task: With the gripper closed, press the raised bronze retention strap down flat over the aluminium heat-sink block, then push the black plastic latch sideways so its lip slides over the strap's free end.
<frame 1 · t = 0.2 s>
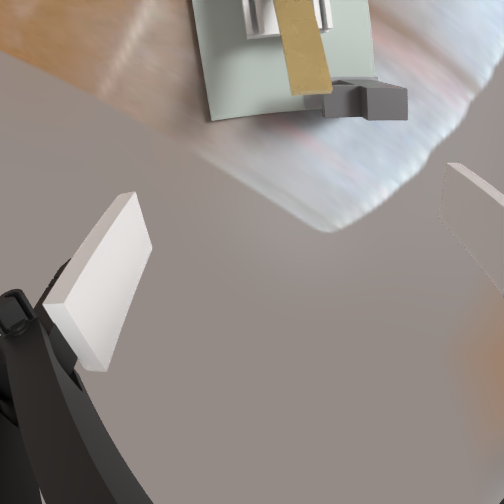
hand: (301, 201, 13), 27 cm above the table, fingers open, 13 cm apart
latch: (353, 97, 29), point 6 cm above the table, slide at 0.0 cm
board: (285, 20, 29), on the table
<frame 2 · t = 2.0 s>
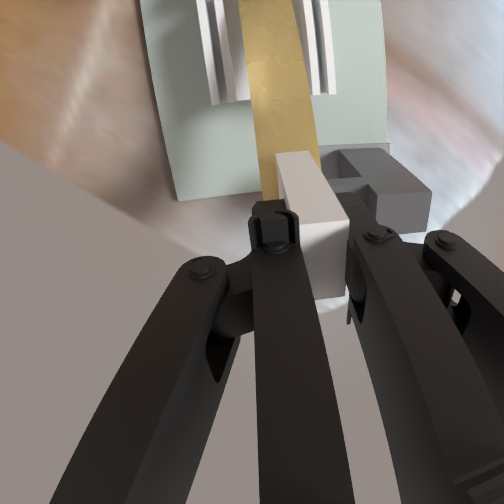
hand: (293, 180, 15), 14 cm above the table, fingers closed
latch: (357, 186, 23), point 6 cm above the table, slide at 0.0 cm
board: (271, 66, 24), on the table
strap: (274, 58, 15), point 10 cm above the table, hinge at 27.7°, touching gripper
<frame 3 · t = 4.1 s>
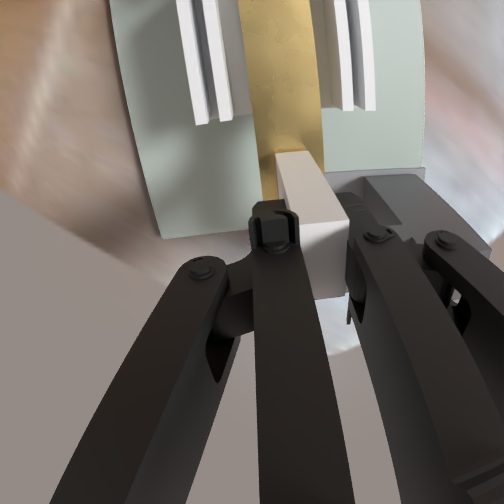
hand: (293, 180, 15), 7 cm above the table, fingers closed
latch: (392, 231, 18), point 6 cm above the table, slide at 0.0 cm
board: (279, 67, 18), on the table
strap: (282, 75, 13), point 7 cm above the table, hinge at 3.5°, touching gripper
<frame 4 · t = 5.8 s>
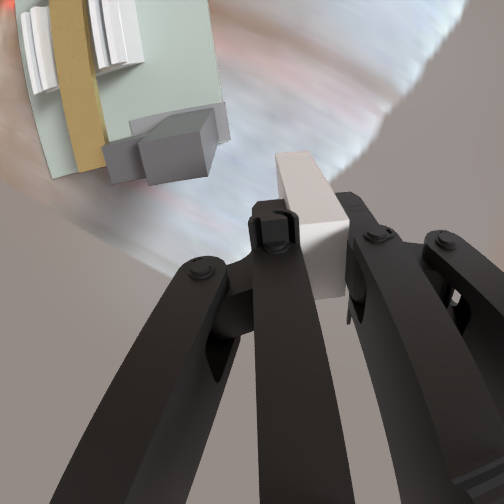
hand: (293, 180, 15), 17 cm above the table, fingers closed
latch: (163, 144, 23), point 6 cm above the table, slide at 0.0 cm
board: (110, 52, 24), on the table
strap: (73, 58, 19), point 7 cm above the table, hinge at 3.5°
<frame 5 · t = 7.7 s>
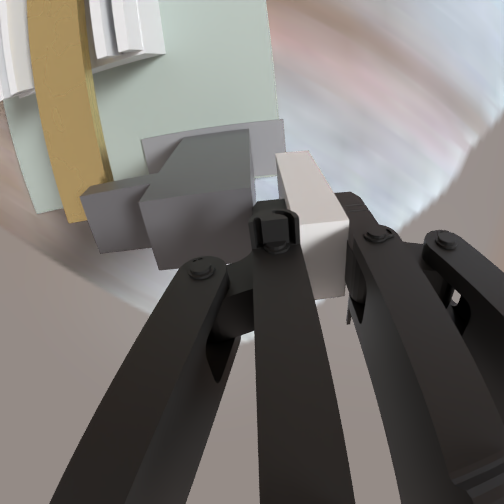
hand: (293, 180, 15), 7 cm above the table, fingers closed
latch: (177, 187, 16), point 6 cm above the table, slide at 1.1 cm, touching gripper
board: (114, 39, 16), on the table
strap: (57, 43, 11), point 7 cm above the table, hinge at 3.5°
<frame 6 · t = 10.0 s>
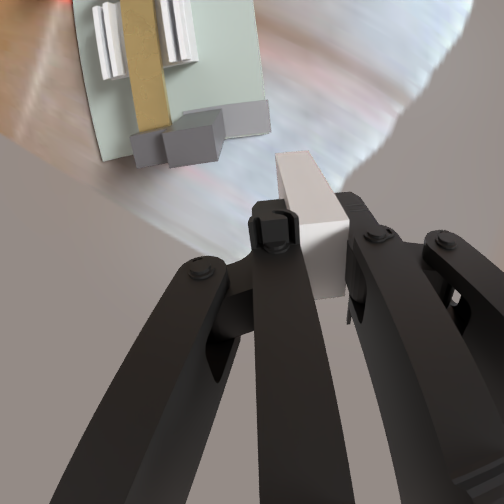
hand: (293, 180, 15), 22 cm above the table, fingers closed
latch: (180, 137, 28), point 6 cm above the table, slide at 3.8 cm
board: (165, 50, 29), on the table
strap: (143, 51, 23), point 7 cm above the table, hinge at 3.5°
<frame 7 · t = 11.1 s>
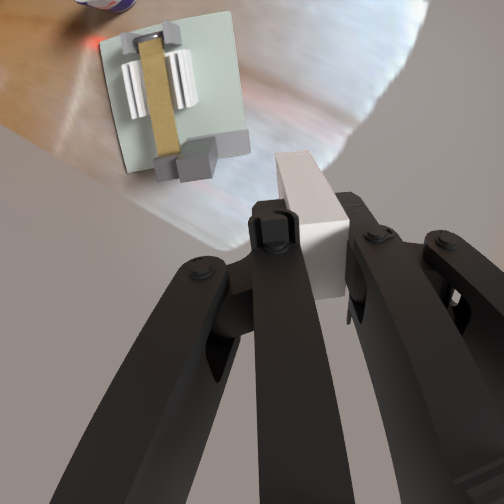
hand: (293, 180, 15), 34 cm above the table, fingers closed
latch: (186, 159, 42), point 6 cm above the table, slide at 3.8 cm
board: (173, 92, 42), on the table
strap: (159, 99, 37), point 7 cm above the table, hinge at 3.5°
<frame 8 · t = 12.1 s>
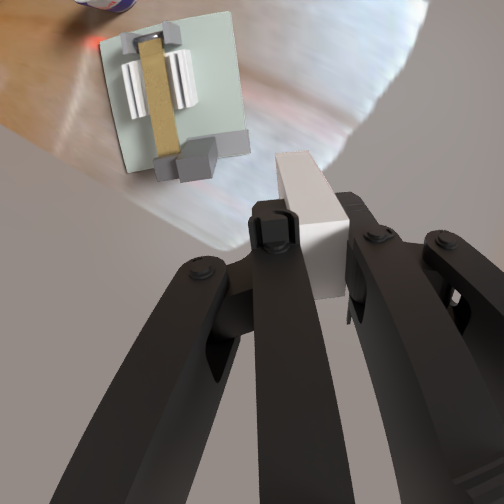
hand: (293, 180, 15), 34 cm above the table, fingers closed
latch: (186, 159, 42), point 6 cm above the table, slide at 3.8 cm
board: (173, 92, 42), on the table
strap: (159, 99, 37), point 7 cm above the table, hinge at 3.5°
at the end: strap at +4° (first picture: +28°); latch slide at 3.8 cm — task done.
